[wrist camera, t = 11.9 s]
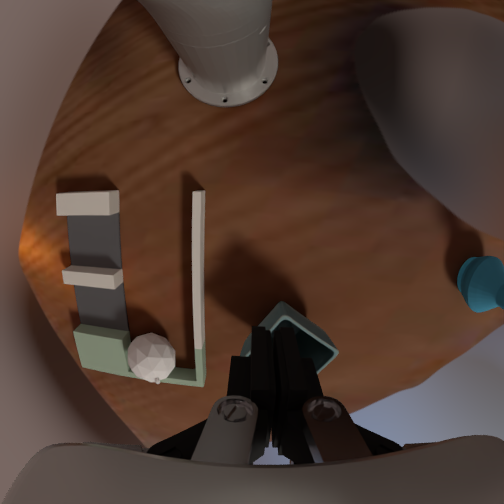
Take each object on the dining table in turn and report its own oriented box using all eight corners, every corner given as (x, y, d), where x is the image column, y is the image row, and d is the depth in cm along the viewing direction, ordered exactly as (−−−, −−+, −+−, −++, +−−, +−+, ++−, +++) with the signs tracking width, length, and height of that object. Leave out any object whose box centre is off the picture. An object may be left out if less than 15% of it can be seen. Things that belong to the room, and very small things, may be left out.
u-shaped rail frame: (67, 192, 36) (56, 193, 34) (205, 190, 37) (201, 191, 34) (89, 357, 44) (82, 366, 41) (206, 375, 44) (203, 386, 41)
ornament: (170, 320, 41) (185, 367, 36) (166, 347, 45) (179, 390, 40) (123, 324, 38) (133, 374, 32) (124, 351, 42) (134, 396, 37)
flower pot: (238, 329, 42) (235, 366, 33) (278, 283, 40) (284, 313, 31) (285, 359, 43) (291, 398, 34) (325, 318, 41) (340, 352, 32)
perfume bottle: (457, 311, 41) (509, 354, 26) (446, 268, 39) (507, 305, 25) (491, 282, 40) (545, 315, 25) (482, 239, 38) (545, 264, 23)
